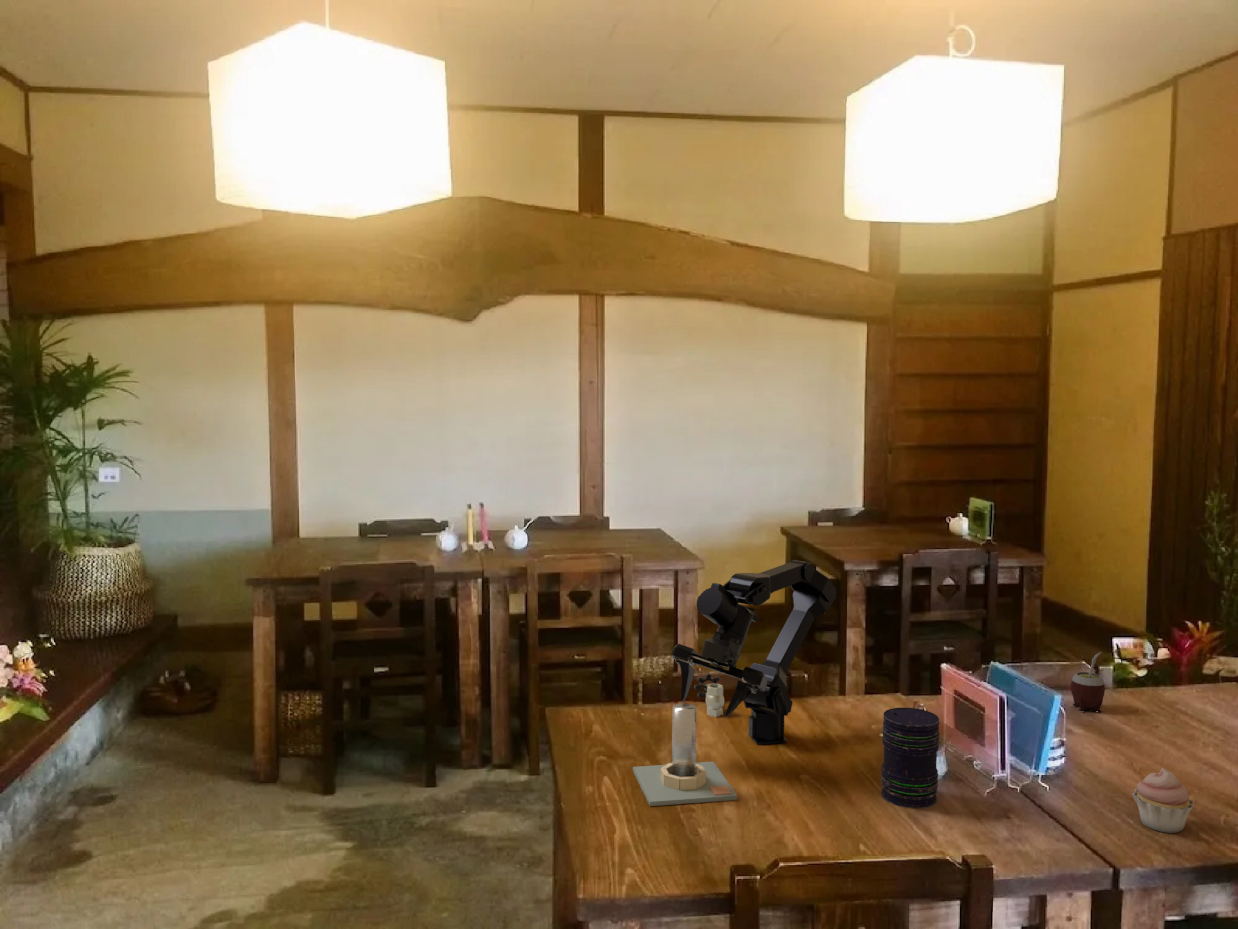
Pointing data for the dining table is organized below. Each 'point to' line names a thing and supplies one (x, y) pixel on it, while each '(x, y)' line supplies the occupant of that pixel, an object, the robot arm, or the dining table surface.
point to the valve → (711, 695)
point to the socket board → (683, 785)
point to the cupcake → (1163, 802)
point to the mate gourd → (1088, 689)
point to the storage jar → (910, 757)
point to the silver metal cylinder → (684, 740)
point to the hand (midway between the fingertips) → (704, 709)
